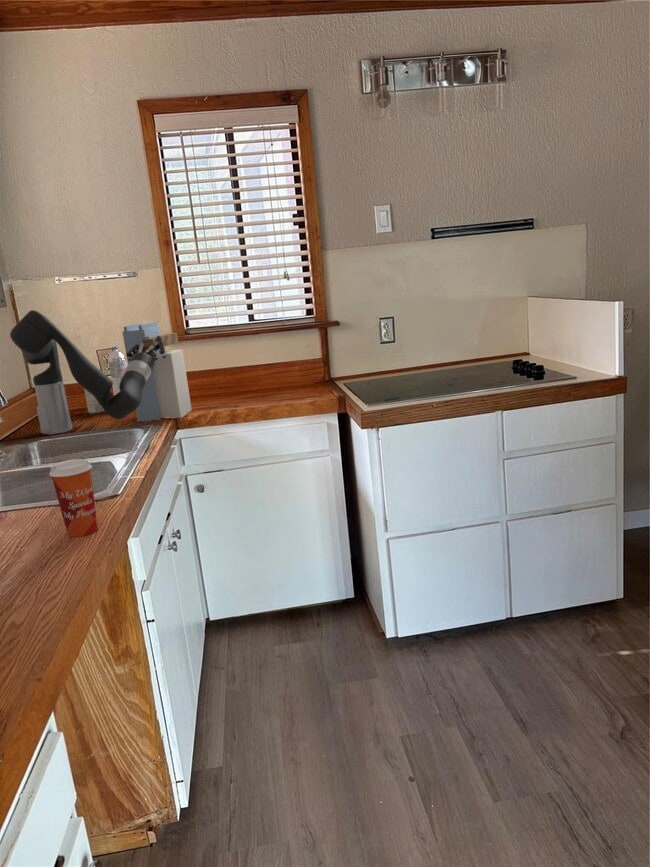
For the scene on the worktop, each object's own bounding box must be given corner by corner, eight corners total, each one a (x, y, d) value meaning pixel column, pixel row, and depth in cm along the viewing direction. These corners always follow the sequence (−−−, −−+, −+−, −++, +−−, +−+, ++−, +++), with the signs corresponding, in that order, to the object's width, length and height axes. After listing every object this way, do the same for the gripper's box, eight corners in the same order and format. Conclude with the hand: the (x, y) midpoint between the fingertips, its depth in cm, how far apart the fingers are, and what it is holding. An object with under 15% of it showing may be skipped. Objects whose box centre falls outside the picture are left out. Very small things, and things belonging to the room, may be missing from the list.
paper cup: (68, 543, 120) (53, 472, 117) (57, 532, 126) (43, 465, 123) (109, 530, 124) (96, 462, 121) (97, 520, 130) (84, 455, 127)
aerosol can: (110, 410, 255) (101, 360, 250) (97, 414, 249) (88, 363, 244) (97, 410, 258) (88, 361, 253) (84, 413, 252) (75, 363, 247)
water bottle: (133, 406, 257) (123, 345, 251) (135, 409, 251) (124, 346, 245) (116, 409, 255) (105, 347, 249) (117, 412, 249) (106, 348, 243)
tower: (158, 420, 225) (143, 325, 217) (137, 421, 227) (121, 327, 219) (172, 412, 238) (158, 321, 230) (152, 413, 239) (137, 323, 231)
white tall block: (180, 417, 226) (170, 353, 220) (160, 419, 227) (150, 355, 222) (191, 411, 237) (182, 349, 231) (172, 412, 238) (163, 350, 232)
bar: (154, 349, 212) (152, 338, 211) (144, 350, 212) (142, 339, 211) (178, 342, 232) (176, 332, 231) (169, 343, 232) (167, 333, 232)
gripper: (122, 380, 207) (138, 348, 220) (163, 377, 205) (177, 345, 217) (114, 362, 202) (130, 330, 215) (155, 359, 200) (170, 327, 212)
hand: (154, 338), depth 216 cm, fingers closed on bar, 3 cm apart
